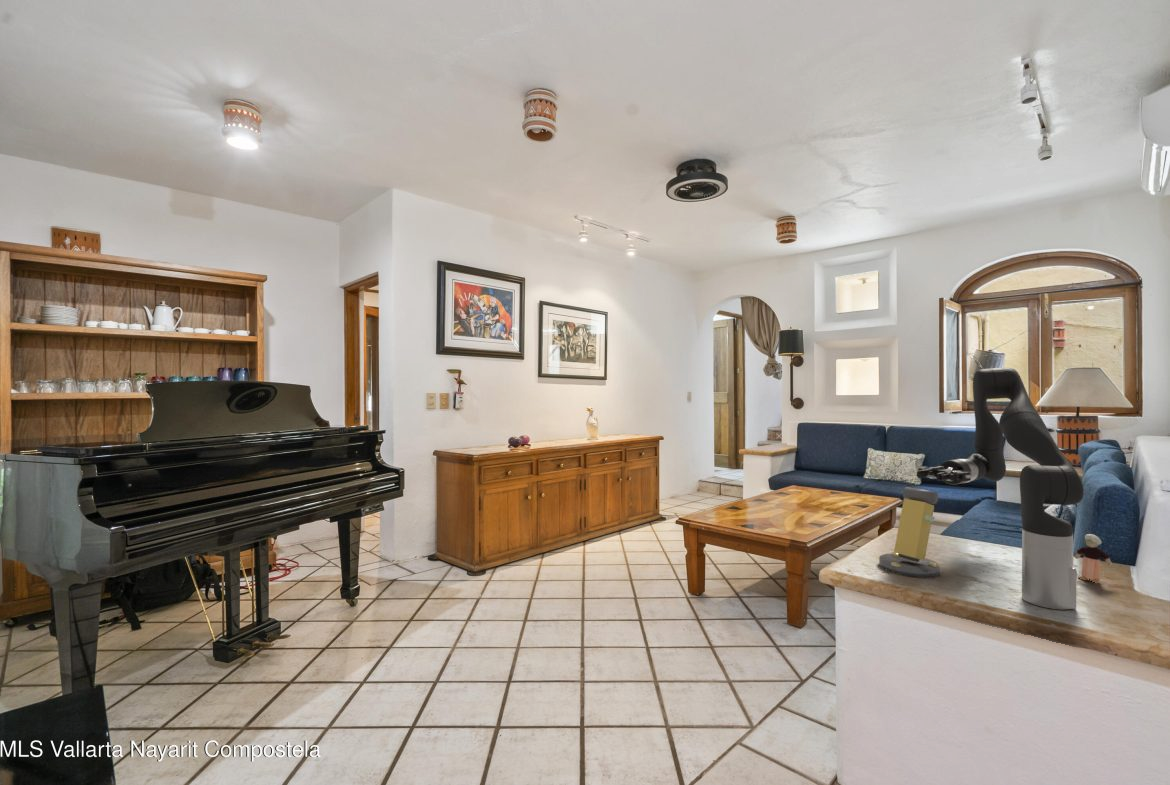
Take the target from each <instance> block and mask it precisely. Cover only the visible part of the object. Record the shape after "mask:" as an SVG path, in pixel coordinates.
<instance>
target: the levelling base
mask: <svg viewBox="0 0 1170 785" xmlns="http://www.w3.org/2000/svg"><path fill="white" fill-rule="evenodd" d="M878 560H879V561H878V562H879V567H880V566H881V567H880V568H882V567H883V568H884V569H883V568H882V569H883V570H885V569H887V570H889V571H892V572H895V573H894V574H896V573H899V574H902V575H901V576H904V575H906V576H905V577H909V576H912V577H911V578H918V577H924V578H923V579H927V578H926V577H932V578H936V576H937V577H939V576H940V575H941V563H938V562H937V561H935V560H933V559H929V558H926V557H925V561H924V560H919V562H916V561H912V560H908V559H905V558H901V557H899V554H898V553H895V552H894V551H892V552H891V553H883V554H881V555H880V556H879V557H878ZM887 570H886V571H887ZM889 571H888V572H889ZM892 572H891V573H892ZM899 574H898V575H899Z"/></svg>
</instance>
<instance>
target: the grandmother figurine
mask: <svg viewBox="0 0 1170 785" xmlns="http://www.w3.org/2000/svg"><path fill="white" fill-rule="evenodd" d="M1084 540H1085V545H1084V546H1082V547H1080V548H1079V549H1077V550H1076V553H1075V555H1073V558H1075V559H1079V558H1080V557H1081V556H1082V555H1083V558H1082V563H1081V564H1082V566H1081V575H1079V576H1077V579H1078V578H1080V579H1079V580H1081V579H1083V580H1082V581H1089V582H1090V581H1092V582H1091V583H1093V582H1095V583H1094V584H1097V583H1100V581H1101V575H1102V564H1101V559H1102V560H1104V561H1105V562H1106V565H1108V566H1112V565H1113V562H1112V561H1111V557H1110V555H1109V554H1107V553H1106V552H1105V551H1103V550H1101V549H1100V548H1098V546H1099V545H1101V544H1102V540H1101V539H1100V538H1099V536H1097V535H1095V534H1093V533H1091V534H1090V533H1088V534H1085V535H1084ZM1088 579H1090V580H1088ZM1100 584H1101V583H1100Z"/></svg>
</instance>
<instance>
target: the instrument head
mask: <svg viewBox="0 0 1170 785" xmlns="http://www.w3.org/2000/svg"><path fill="white" fill-rule="evenodd" d="M902 497H903V501H902V508H901V512H900V516H899V523H898V529H897V533H896V539H895V545H894V550H893V552H895V553H898V554H899V557H901V558H905V559H908V560H912V561H916V562H919V560H924V561H925V558H926V555H927V550H928V544H929V539H930V531H931V527H932V522H934V521H935V516H933V515H934V512H935V511H934V510H935V505H936V504H937V503H938V500H939V494H938V492H937V491H934V490H927V489H921V488H916V487H909V486H905V487H904V488H903V490H902Z"/></svg>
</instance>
